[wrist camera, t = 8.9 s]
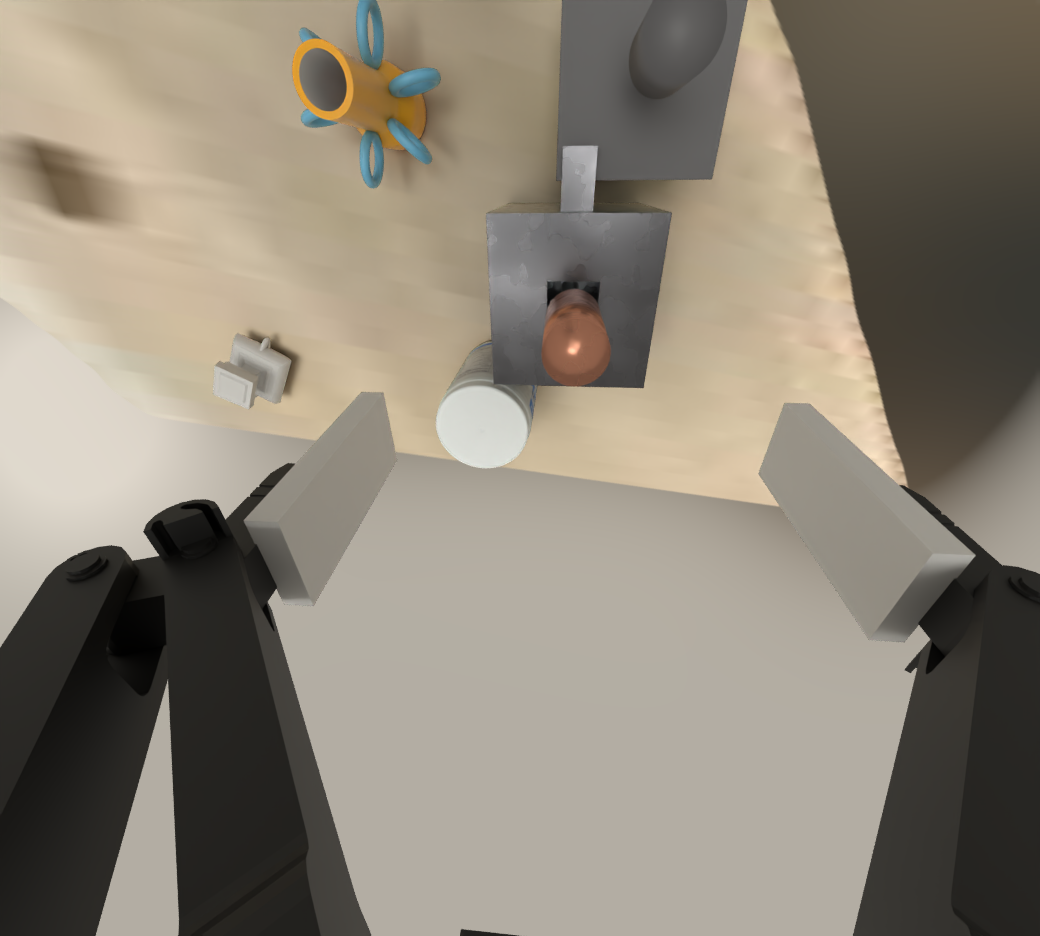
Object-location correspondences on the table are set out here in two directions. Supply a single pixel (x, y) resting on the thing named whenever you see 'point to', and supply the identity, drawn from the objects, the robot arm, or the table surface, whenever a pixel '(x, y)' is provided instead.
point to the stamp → (251, 373)
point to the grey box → (574, 274)
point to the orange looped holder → (364, 93)
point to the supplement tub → (484, 414)
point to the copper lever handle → (574, 338)
